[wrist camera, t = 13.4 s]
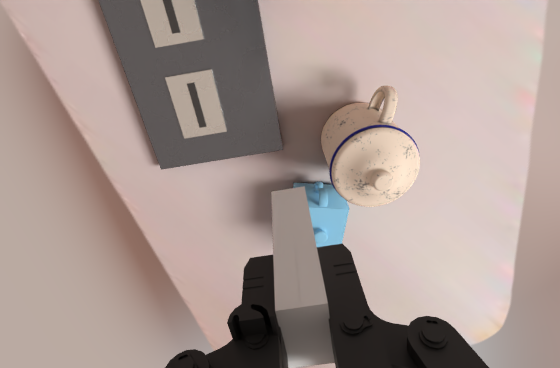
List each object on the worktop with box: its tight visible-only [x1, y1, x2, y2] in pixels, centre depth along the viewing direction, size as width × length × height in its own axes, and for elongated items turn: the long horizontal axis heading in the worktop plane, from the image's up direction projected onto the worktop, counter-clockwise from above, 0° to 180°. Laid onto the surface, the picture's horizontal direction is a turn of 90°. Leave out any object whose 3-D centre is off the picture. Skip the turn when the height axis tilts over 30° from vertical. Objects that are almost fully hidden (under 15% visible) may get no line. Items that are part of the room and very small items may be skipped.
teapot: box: [293, 182, 349, 247], centre depth 45 cm, size 12×6×8 cm, turn 175°
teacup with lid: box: [321, 86, 420, 207], centre depth 37 cm, size 12×9×12 cm
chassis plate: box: [99, 0, 283, 169], centre depth 36 cm, size 28×15×2 cm, turn 9°
